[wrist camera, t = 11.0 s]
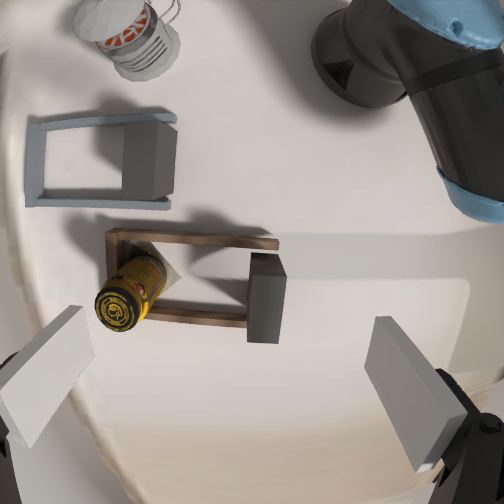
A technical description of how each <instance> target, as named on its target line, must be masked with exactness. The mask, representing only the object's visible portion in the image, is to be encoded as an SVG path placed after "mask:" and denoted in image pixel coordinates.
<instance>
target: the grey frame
mask: <svg viewBox="0 0 504 504" xmlns="http://www.w3.org/2000/svg"><path fill="white" fill-rule="evenodd" d="M176 121H177V116H176V115H175V114H174V113H155V114H127V115H111V116H98V117H87V118H77V119H68V120H60V121H53V122H46V123H32V124H29V125H28V135H27V148H26V167H25V207H36V206H43V207H91V208H121V209H145V210H165V211H167V210H169V209H171V201H163V200H154V199H157V198H160V197H163V196H166V195H169V194H172V193H173V188H174V171H175V156H176V143H177V131H176V130H175V129H173V128H171V127H169V126H168V125H166V124H164V123H176ZM123 124H126V129H125V141H124V154H123V172H122V199H104V198H44V161H45V144H46V132H47V131H52V130H60V129H69V128H79V127H91V126H105V125H123ZM139 199H144V200H139Z"/></svg>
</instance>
